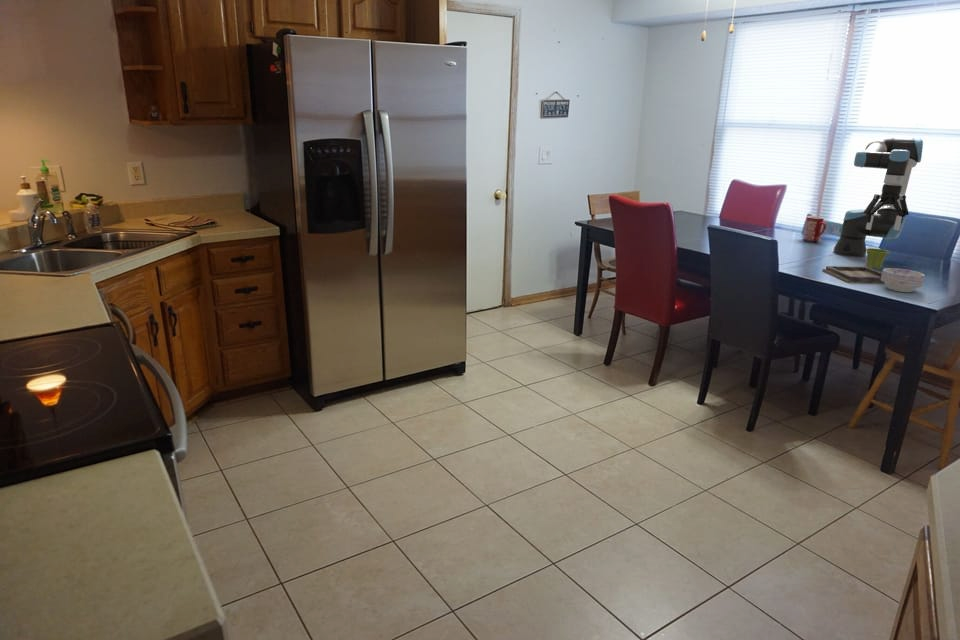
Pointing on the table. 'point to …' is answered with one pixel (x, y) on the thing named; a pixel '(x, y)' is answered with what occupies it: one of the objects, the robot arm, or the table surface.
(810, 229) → the mug
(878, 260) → the plant pot
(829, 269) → the wooden tray
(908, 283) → the paper bowls
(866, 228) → the robot arm
